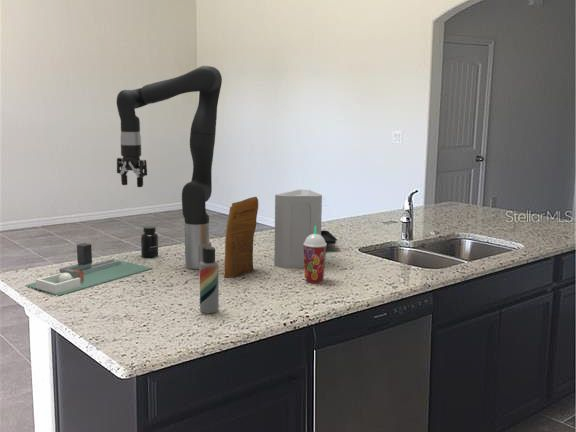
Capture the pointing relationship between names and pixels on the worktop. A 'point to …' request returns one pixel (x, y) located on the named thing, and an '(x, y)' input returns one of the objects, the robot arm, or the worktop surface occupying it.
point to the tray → (328, 237)
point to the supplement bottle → (149, 242)
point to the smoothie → (314, 257)
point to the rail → (100, 266)
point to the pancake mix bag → (240, 237)
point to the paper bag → (295, 225)
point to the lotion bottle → (209, 282)
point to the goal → (56, 284)
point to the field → (104, 276)
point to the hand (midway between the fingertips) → (132, 185)
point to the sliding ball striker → (80, 262)
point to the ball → (65, 277)
